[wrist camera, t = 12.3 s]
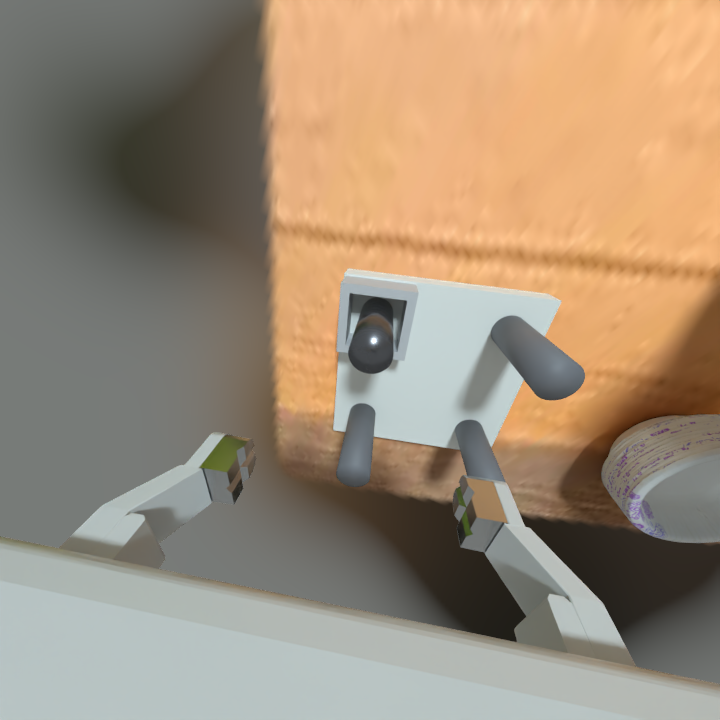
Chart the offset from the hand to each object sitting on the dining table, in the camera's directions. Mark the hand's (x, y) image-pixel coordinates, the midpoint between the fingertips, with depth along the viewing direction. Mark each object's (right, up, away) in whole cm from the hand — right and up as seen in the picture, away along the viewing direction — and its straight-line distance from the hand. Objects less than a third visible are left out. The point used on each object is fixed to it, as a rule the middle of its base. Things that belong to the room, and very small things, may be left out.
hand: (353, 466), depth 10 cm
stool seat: (+8, +3, +21) cm, 23 cm away
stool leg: (+2, +9, +16) cm, 19 cm away
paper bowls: (+37, -6, +23) cm, 44 cm away
